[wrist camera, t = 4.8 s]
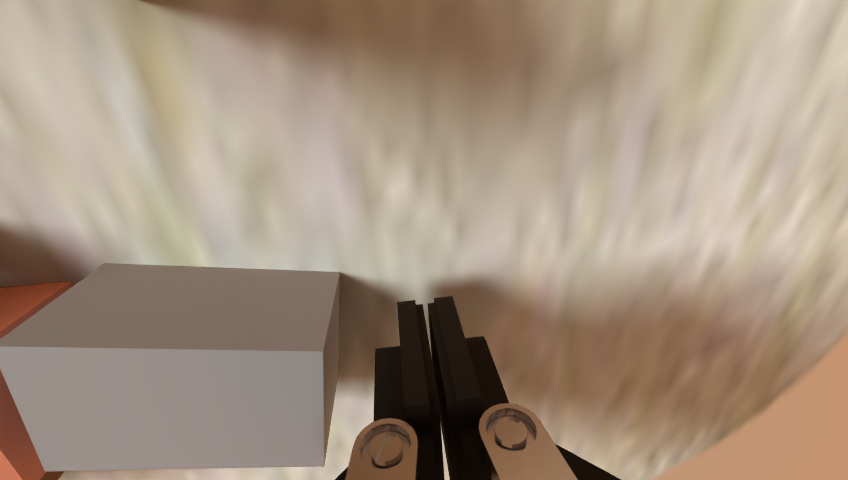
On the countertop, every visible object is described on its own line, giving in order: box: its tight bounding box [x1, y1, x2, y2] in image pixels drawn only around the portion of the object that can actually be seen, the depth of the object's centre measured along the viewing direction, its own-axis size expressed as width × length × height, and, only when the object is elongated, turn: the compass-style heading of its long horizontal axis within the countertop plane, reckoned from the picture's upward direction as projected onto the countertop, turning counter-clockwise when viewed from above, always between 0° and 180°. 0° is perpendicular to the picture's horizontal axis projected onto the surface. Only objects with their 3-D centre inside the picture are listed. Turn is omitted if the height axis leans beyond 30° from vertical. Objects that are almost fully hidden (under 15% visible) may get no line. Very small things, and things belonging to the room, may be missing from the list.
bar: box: [0, 263, 340, 471], centre depth 12 cm, size 7×4×4 cm, turn 84°
